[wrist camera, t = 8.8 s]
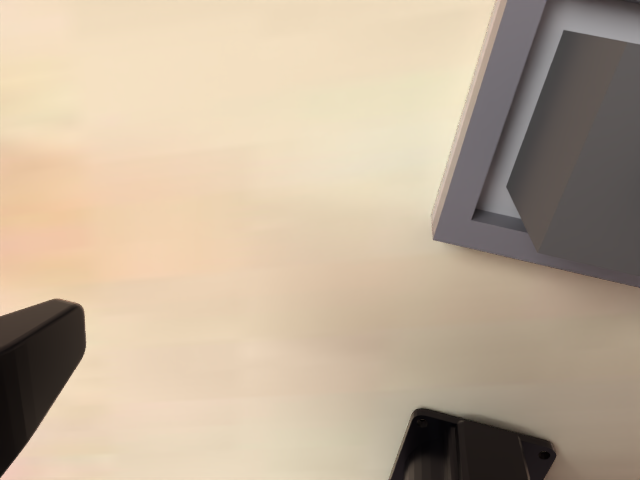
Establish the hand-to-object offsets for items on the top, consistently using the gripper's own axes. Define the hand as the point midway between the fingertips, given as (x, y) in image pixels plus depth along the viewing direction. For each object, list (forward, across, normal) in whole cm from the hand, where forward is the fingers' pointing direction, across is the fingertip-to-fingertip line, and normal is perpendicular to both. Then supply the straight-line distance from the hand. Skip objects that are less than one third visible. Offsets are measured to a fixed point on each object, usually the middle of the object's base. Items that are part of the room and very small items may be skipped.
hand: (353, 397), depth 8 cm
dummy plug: (+12, -6, -3) cm, 14 cm away
